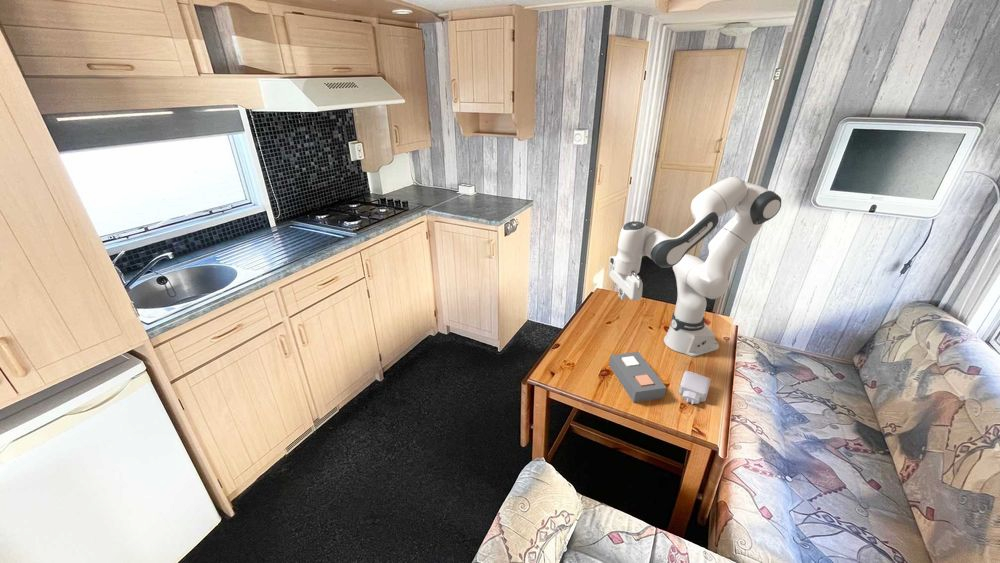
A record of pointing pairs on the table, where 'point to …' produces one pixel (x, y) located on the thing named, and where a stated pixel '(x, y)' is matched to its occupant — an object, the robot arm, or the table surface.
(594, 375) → the table surface
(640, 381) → the terracotta key
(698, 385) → the charger
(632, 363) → the white key
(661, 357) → the table surface
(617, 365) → the console
